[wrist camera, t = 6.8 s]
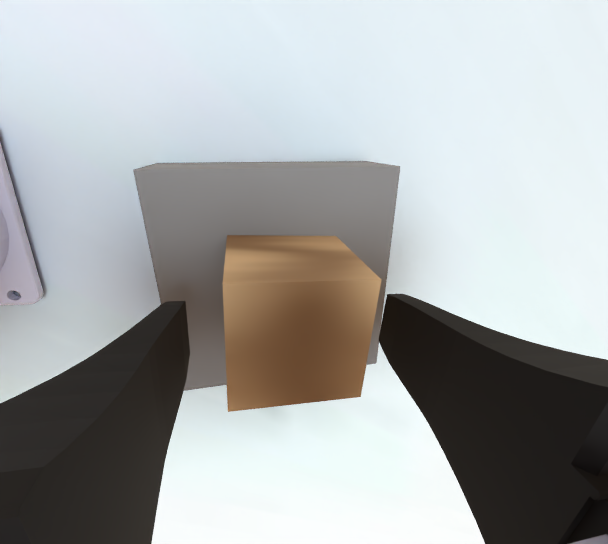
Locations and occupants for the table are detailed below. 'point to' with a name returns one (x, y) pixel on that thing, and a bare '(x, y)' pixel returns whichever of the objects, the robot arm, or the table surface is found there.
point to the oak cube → (295, 320)
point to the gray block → (255, 231)
